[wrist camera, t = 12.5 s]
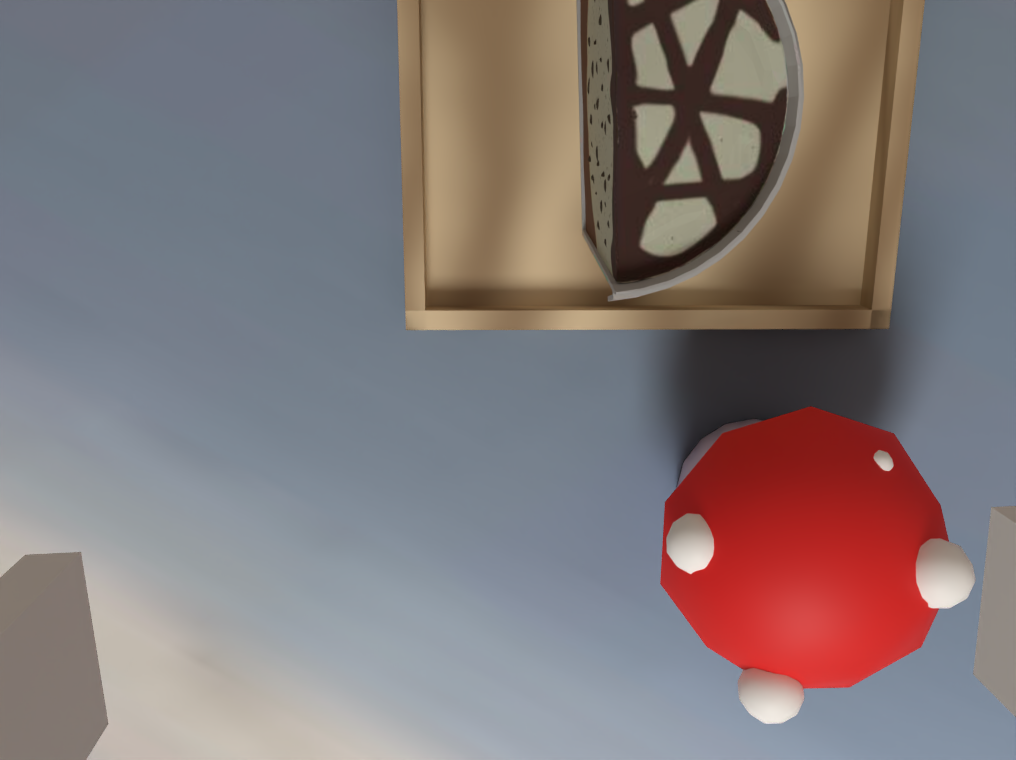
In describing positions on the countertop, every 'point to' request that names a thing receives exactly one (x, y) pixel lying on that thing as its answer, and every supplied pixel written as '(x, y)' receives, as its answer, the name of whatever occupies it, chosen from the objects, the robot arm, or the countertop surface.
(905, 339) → the countertop surface
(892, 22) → the tray
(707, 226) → the brown white half-round block
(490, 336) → the countertop surface
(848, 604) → the mushroom
